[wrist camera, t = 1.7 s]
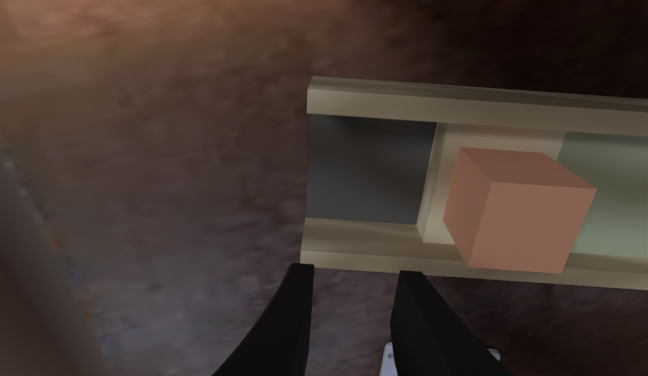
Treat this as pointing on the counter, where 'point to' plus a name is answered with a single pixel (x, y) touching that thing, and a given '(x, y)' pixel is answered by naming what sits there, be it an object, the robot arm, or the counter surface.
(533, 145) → the trap lane
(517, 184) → the block
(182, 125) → the counter surface
